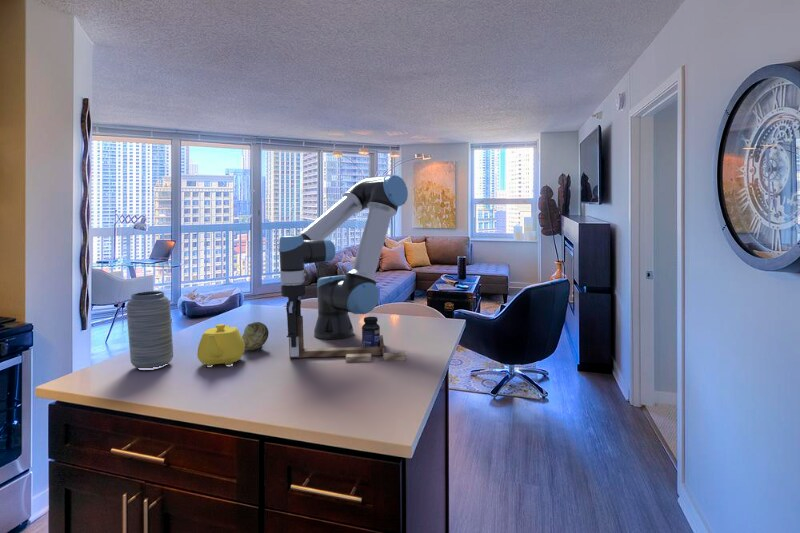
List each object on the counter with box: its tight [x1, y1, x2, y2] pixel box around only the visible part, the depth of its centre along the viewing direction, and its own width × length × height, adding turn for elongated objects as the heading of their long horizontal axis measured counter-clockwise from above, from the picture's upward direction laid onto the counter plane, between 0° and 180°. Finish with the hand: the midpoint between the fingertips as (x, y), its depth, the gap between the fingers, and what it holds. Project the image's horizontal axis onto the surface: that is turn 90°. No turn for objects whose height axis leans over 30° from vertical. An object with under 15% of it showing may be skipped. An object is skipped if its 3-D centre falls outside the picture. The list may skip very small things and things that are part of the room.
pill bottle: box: [361, 316, 381, 347], centre depth 152 cm, size 6×6×11 cm
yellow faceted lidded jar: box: [196, 323, 246, 366], centre depth 138 cm, size 13×20×12 cm
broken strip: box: [345, 351, 407, 363], centre depth 141 cm, size 19×3×2 cm, turn 94°
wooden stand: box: [288, 315, 385, 359], centre depth 150 cm, size 31×14×13 cm, turn 94°
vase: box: [125, 290, 174, 369], centre depth 136 cm, size 12×12×23 cm
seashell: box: [241, 321, 270, 351], centre depth 154 cm, size 11×11×10 cm
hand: (295, 353), depth 145 cm, fingers closed on wooden stand, 4 cm apart
